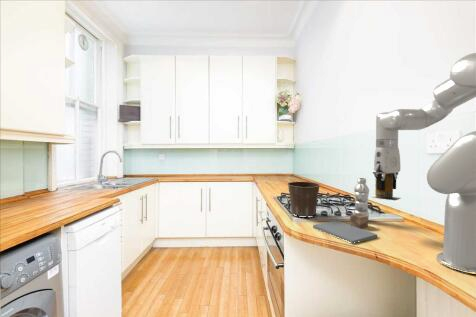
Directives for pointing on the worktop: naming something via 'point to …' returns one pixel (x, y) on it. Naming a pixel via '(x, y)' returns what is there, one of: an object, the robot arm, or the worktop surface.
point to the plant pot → (303, 198)
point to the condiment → (386, 188)
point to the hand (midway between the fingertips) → (386, 189)
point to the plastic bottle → (361, 197)
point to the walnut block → (359, 220)
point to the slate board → (345, 231)
